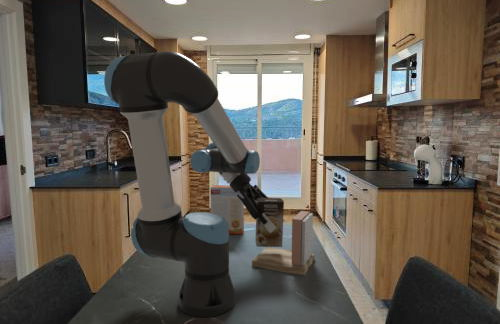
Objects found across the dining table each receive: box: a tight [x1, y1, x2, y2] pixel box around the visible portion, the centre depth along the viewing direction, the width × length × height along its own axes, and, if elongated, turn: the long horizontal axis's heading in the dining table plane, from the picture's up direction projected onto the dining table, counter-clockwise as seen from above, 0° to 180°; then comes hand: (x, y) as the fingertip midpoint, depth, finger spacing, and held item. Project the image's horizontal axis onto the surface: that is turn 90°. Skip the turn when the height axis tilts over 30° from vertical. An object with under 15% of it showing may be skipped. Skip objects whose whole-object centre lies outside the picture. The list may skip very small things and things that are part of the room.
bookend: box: [292, 212, 314, 267], centre depth 112 cm, size 11×4×15 cm, turn 157°
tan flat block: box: [291, 210, 310, 265], centre depth 113 cm, size 11×3×15 cm, turn 157°
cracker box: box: [210, 184, 245, 235], centre depth 148 cm, size 14×6×21 cm, turn 84°
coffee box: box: [254, 197, 285, 248], centre depth 118 cm, size 9×6×16 cm
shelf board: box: [251, 247, 315, 276], centre depth 116 cm, size 14×18×2 cm
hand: (277, 226), depth 117 cm, fingers closed on coffee box, 9 cm apart
